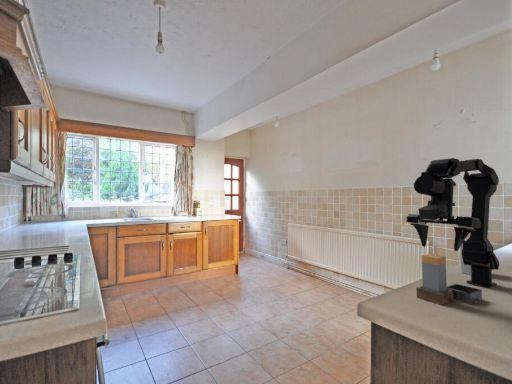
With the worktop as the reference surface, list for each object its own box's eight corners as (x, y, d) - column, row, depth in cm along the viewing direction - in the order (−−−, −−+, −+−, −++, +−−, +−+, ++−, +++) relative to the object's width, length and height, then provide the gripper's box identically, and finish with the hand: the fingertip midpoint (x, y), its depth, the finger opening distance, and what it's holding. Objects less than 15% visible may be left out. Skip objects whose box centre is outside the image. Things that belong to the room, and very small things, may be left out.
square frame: (429, 293, 86) (429, 283, 86) (453, 300, 80) (453, 290, 80) (416, 297, 83) (416, 287, 83) (440, 304, 77) (440, 294, 77)
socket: (456, 292, 86) (455, 283, 86) (482, 299, 80) (481, 289, 80) (444, 296, 83) (443, 287, 83) (470, 304, 77) (470, 294, 77)
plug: (431, 295, 85) (430, 253, 85) (447, 299, 81) (445, 256, 81) (423, 297, 83) (421, 255, 83) (438, 302, 79) (437, 258, 79)
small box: (480, 276, 103) (479, 242, 103) (460, 272, 108) (459, 240, 109) (487, 273, 108) (486, 240, 108) (468, 269, 113) (467, 238, 113)
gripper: (397, 195, 89) (394, 243, 87) (462, 194, 72) (459, 253, 71) (417, 199, 94) (415, 244, 92) (482, 199, 77) (480, 254, 76)
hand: (439, 248), depth 83 cm, fingers open, 9 cm apart
